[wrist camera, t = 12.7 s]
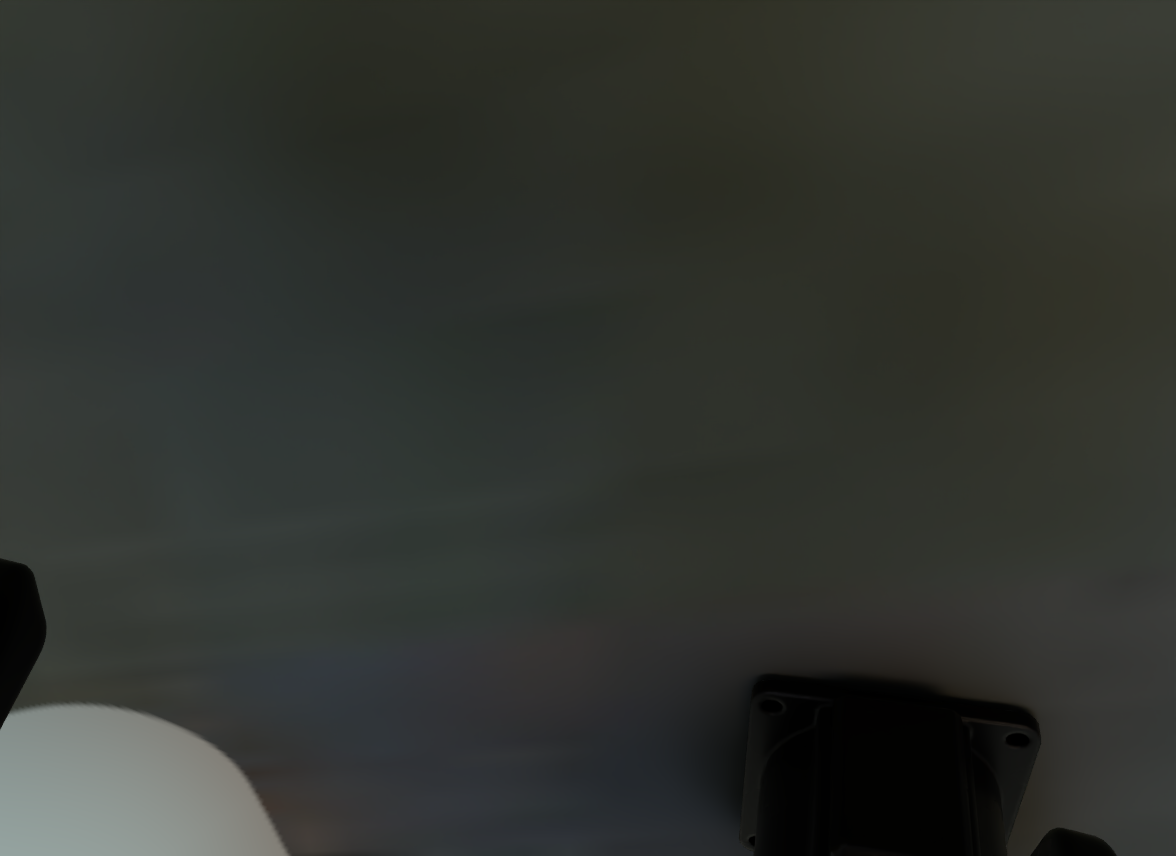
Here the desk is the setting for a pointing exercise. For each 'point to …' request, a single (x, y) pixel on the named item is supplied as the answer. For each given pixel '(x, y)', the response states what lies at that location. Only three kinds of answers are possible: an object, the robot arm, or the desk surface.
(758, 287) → the desk surface
